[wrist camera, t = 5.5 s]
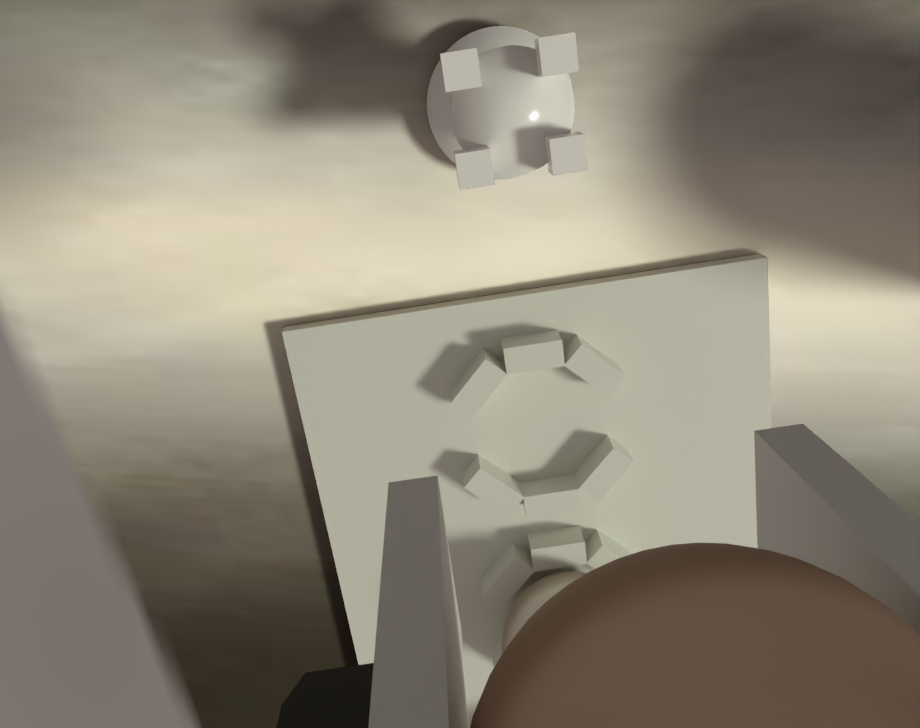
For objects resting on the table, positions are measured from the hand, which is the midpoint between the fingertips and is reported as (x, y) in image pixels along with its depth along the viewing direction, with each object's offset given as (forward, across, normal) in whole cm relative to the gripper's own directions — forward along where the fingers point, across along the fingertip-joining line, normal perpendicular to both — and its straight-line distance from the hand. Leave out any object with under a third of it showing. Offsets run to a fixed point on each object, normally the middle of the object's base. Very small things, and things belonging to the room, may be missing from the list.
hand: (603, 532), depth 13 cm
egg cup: (+15, 0, +6) cm, 17 cm away
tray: (+16, +1, -12) cm, 20 cm away
